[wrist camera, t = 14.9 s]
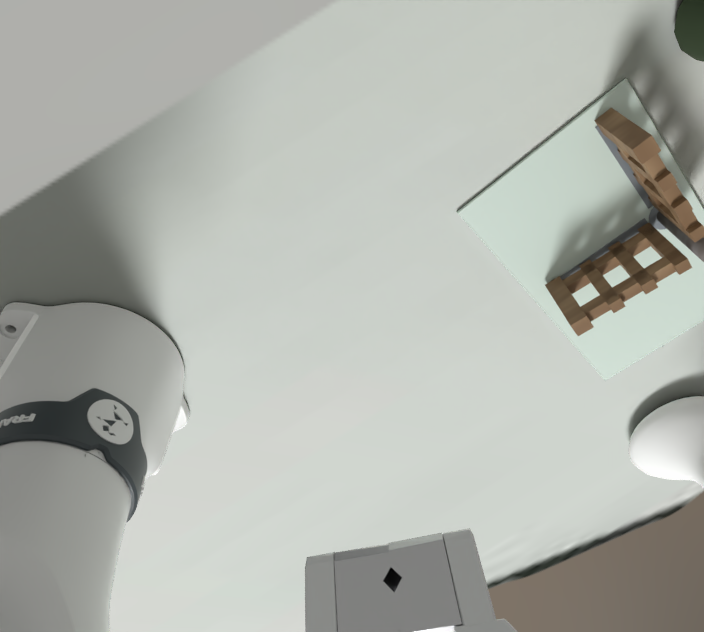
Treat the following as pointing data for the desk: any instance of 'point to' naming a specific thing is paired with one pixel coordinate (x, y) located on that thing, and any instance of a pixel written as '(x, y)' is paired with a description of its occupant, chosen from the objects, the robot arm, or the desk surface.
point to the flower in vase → (671, 441)
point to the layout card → (590, 233)
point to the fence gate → (623, 291)
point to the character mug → (691, 28)
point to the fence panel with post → (654, 178)
